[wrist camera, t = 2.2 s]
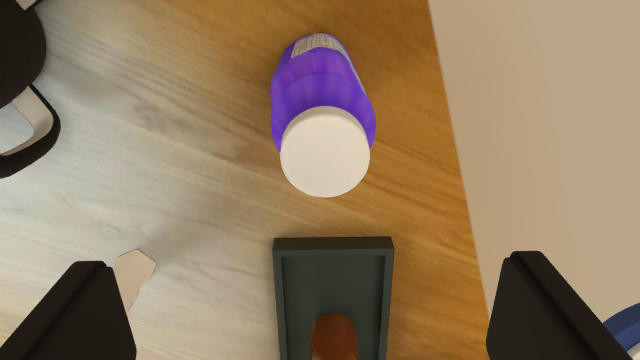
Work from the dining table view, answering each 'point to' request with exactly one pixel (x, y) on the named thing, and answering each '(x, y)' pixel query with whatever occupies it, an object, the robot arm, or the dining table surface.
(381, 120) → the dining table surface
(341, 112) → the bottle
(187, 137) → the dining table surface
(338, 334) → the middle bottle
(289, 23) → the dining table surface
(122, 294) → the perfume bottle
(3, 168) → the mug
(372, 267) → the tray
